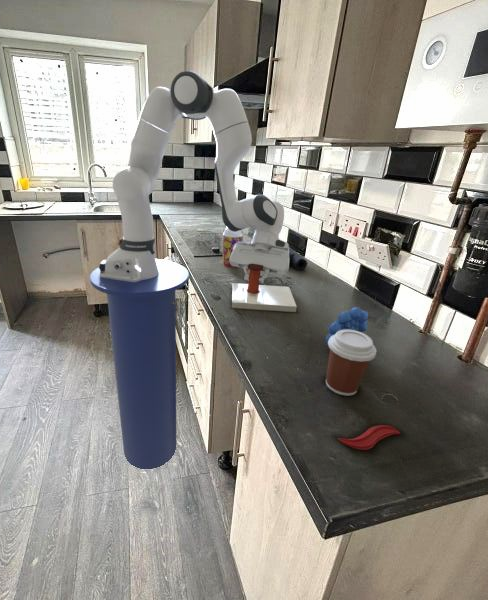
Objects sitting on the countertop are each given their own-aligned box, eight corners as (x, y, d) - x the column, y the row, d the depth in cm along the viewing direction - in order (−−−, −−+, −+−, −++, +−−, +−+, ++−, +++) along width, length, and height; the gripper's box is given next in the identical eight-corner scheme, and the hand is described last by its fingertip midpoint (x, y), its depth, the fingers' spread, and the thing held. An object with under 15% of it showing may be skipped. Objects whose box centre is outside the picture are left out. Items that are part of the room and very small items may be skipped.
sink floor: (231, 307, 101) (232, 302, 100) (232, 288, 116) (232, 283, 115) (295, 312, 100) (296, 306, 99) (288, 291, 115) (289, 286, 114)
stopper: (245, 299, 108) (247, 268, 103) (244, 292, 112) (247, 262, 108) (260, 300, 107) (264, 269, 103) (259, 293, 112) (262, 263, 108)
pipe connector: (281, 258, 133) (270, 248, 146) (280, 270, 135) (269, 259, 148) (308, 258, 134) (294, 248, 148) (305, 270, 137) (293, 259, 150)
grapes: (348, 338, 87) (359, 298, 82) (367, 351, 82) (379, 309, 76) (312, 344, 84) (321, 303, 79) (329, 359, 78) (340, 315, 73)
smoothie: (227, 261, 144) (230, 215, 135) (243, 265, 139) (247, 218, 131) (217, 265, 137) (219, 218, 129) (234, 270, 133) (237, 221, 125)
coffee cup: (310, 377, 71) (320, 330, 66) (341, 368, 75) (353, 323, 70) (341, 405, 64) (355, 355, 59) (373, 393, 67) (389, 345, 62)
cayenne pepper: (343, 450, 54) (345, 442, 53) (332, 428, 58) (334, 420, 57) (411, 448, 55) (414, 440, 54) (395, 427, 59) (398, 419, 58)
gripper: (233, 236, 112) (222, 271, 108) (293, 244, 105) (283, 282, 101) (236, 245, 117) (226, 279, 113) (293, 253, 110) (284, 290, 106)
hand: (253, 280), depth 107 cm, fingers closed on stopper, 3 cm apart
